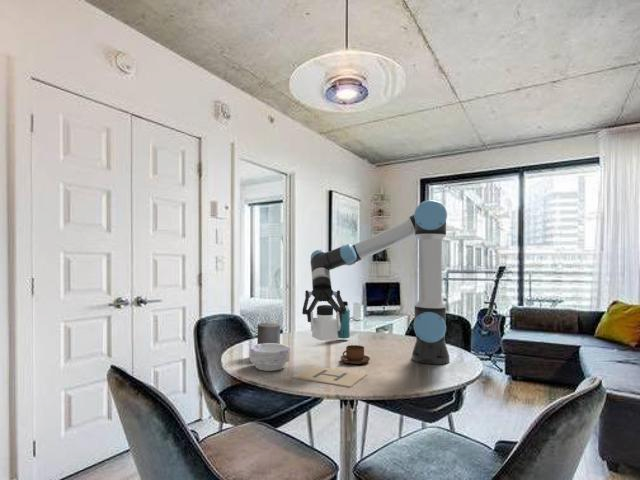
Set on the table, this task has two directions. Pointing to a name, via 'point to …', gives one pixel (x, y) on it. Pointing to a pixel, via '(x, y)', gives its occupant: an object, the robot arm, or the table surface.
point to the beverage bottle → (345, 324)
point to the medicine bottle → (325, 324)
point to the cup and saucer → (354, 355)
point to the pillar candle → (268, 333)
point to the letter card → (330, 376)
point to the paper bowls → (269, 356)
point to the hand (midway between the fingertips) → (325, 328)
